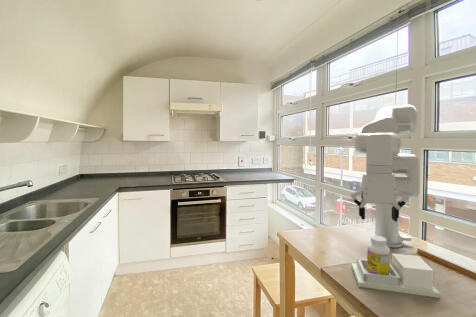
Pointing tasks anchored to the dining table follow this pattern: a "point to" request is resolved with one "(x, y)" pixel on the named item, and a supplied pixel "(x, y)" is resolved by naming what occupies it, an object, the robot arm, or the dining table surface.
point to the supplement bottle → (378, 256)
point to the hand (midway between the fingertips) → (378, 219)
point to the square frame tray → (399, 276)
